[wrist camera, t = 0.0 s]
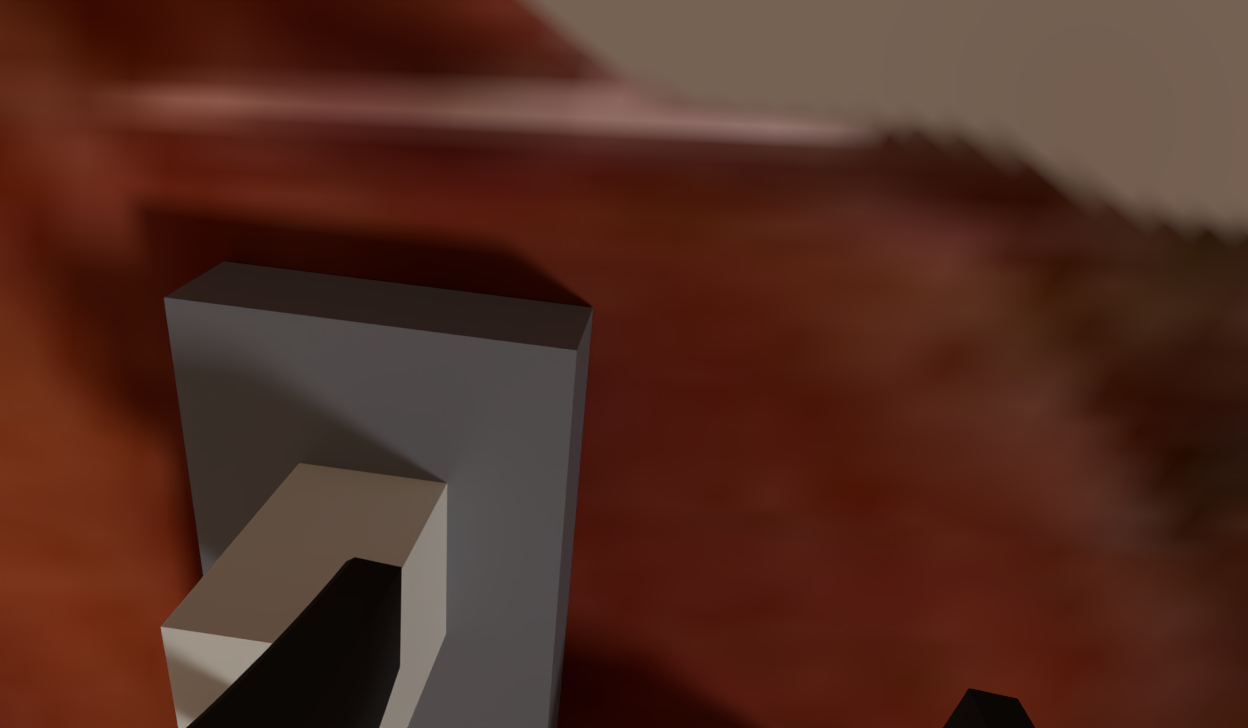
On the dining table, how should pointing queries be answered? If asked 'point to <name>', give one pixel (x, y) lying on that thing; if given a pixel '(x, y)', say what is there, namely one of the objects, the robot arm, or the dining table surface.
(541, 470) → the power strip
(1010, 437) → the dining table surface
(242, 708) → the robot arm
